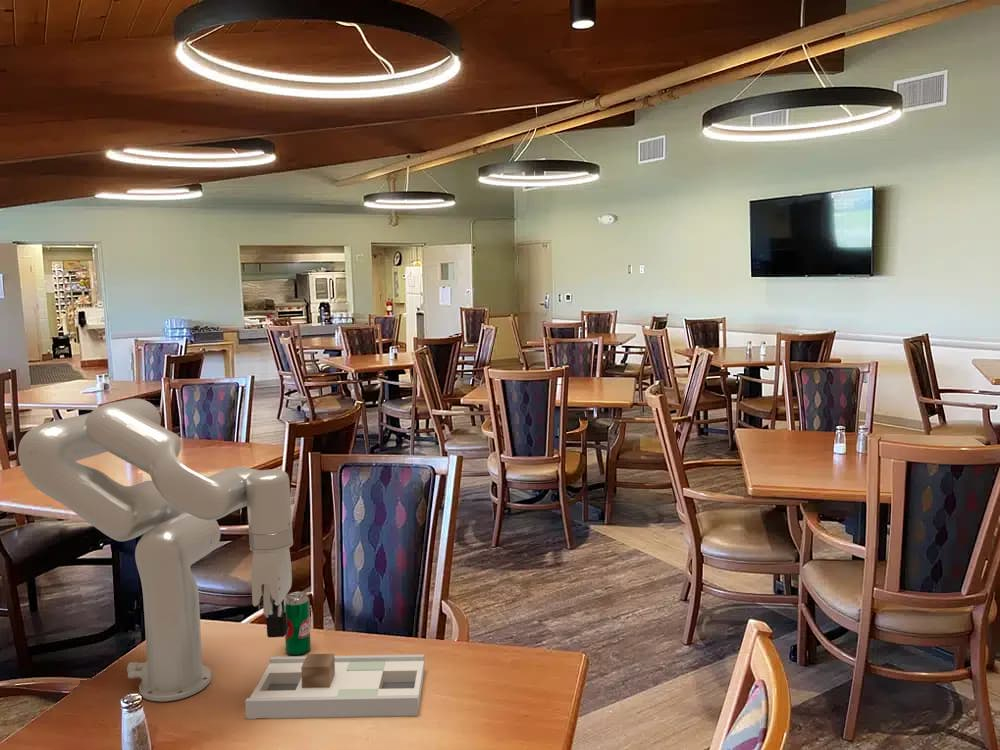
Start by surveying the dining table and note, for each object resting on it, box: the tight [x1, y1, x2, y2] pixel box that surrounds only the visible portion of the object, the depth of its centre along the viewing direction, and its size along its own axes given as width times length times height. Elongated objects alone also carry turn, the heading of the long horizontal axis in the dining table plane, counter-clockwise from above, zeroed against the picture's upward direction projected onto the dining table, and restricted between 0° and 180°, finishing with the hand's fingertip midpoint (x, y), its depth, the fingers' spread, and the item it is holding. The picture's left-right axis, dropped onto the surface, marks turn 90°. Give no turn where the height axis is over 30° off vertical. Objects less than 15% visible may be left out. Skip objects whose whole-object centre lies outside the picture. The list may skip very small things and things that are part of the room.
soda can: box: [284, 591, 312, 657], centre depth 154 cm, size 5×5×12 cm
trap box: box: [245, 653, 426, 720], centre depth 138 cm, size 30×16×3 cm, turn 91°
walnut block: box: [301, 653, 335, 688], centre depth 137 cm, size 5×5×4 cm
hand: (277, 635), depth 136 cm, fingers closed
